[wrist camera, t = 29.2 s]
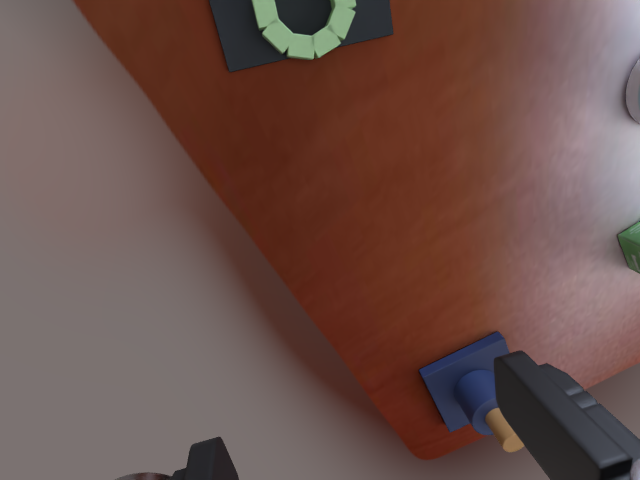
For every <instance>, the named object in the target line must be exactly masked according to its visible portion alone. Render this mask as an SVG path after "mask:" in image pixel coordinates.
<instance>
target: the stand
mask: <svg viewBox="0 0 640 480" xmlns="http://www.w3.org/2000/svg"><path fill="white" fill-rule="evenodd" d="M506 354H509V350H508V347H507V344H506V341H505V339H504V337H503V336H502V335H501V334H500V333H499V332H496V333H494V334H492V335H490V336H487V337H485V338H483V339H481V340H479V341H477V342H475V343H473V344H471V345H469V346H467V347H465V348H463V349H461V350H459V351H457V352H455V353H452V354H450V355H448V356H446V357H444V358H442V359H440V360H438V361H436V362H434V363H432V364H430V365H428V366H426V367H424V368H422V369H419V372H420V374H421V376H422V378H423V380H424V382H425V384H426V386H427V388H428V390H429V392H430V394H431V396H432V398H433V400H434V402H435V404H436V406H437V408H438V410H439V412H440V414H441V416H442V418H443V420H444V422H445V424H446V426H447V428H448V430H449V432H452V431H455V430H457V429H459V428H461V427H463V426H465V425H467V424H469V423H471V425H472V426H473V428H474V429H475V431H477V432H478V433H480V434H483V435H495V437H496V438H497V440H498V441H499V443H500V444H501V446H502V447H503V449H504V450H505V451H507V452H515V451H517V450H519V449H521V448H522V447H523V446H524V444H523V443H522V441H521V440H520V439H519V437H518V436H517V435H516V433H515V432H514V431H513V429H512V428H511V427H510V425H509V424H508V423H507V421H506V420H505V418H504V417H503V415H502V413H501V411H500V409H499V407H498V404H497V400H496V392H495V377H494V358H496V357H499V356H502V355H506Z"/></svg>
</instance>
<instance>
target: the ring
mask: <svg viewBox="0 0 640 480" xmlns="http://www.w3.org/2000/svg"><path fill="white" fill-rule="evenodd" d="M330 1H331V7H332V10H331V13H330V15H329V18H328V21H327V23H326V26H325V27H324V28H323V29H321V30H320V31H318V32H317V33H315V34H314V35H312V36H309V35H301V34H293V33H292V32H291V31H290V30H289V29H288V28H287V27H286V26H285V25H284V24H283V23H282V22H281V21H280V20H279V18H278V14H277V9H276V5H275V1H274V0H252V4H253V8H254V12H255V17H256V21H257V25H258V29H259V31H261V30H264V31H263V32H262V36H263V37H264V38H265V39H266V40H267V41H268V42H269V43H270V44H271V45H272V46H273V47H274V48H275V49H276V50H277V51H278V52H279V53H280V54H283V53H284V52H285V51H286V49H287V54H286V56H287V57H289V58H297V59H306V60H312V59H314V56H315V58H316V59H317V58H319V57H321V56H323V55H324V54H326V53H327V52H329V51H330V50H332V49H334V48H335V47H337V46H338V45H340V44H341V42H340V41H342V40H344V39H345V37H346V35H347V32H348V30H349V27H350V25H351V22H352V20H353V17H354V15H355V11H353V10H352V9H353V8H354V7H355V6H356V1H355V0H330Z"/></svg>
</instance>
